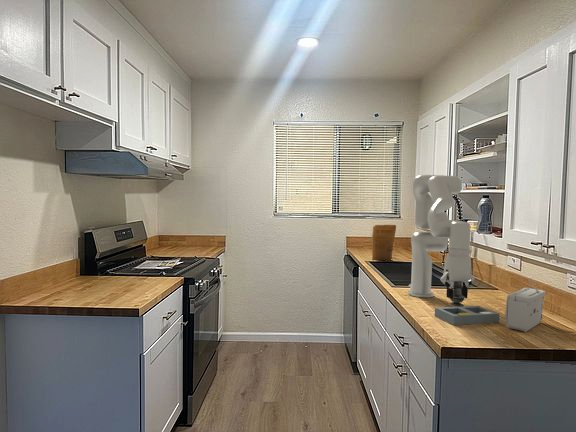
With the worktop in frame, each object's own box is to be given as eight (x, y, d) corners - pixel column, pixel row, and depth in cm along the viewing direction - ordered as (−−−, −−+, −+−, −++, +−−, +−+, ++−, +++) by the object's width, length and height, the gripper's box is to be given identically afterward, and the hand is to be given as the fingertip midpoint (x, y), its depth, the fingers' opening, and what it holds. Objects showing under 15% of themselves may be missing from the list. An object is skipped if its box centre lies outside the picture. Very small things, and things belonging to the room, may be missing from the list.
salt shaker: (460, 303, 165) (461, 273, 165) (467, 307, 159) (468, 276, 159) (446, 302, 165) (447, 273, 165) (452, 306, 159) (454, 276, 159)
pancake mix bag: (396, 261, 312) (397, 225, 310) (371, 261, 310) (373, 224, 309) (393, 260, 319) (394, 224, 317) (369, 259, 317) (370, 223, 315)
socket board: (434, 316, 167) (435, 306, 167) (477, 313, 173) (478, 304, 172) (453, 325, 156) (454, 315, 155) (499, 322, 161) (499, 312, 161)
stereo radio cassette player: (522, 318, 168) (525, 270, 167) (544, 323, 162) (548, 273, 161) (503, 328, 154) (506, 275, 153) (527, 334, 148) (531, 279, 147)
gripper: (470, 251, 167) (468, 294, 168) (434, 251, 163) (432, 296, 164) (484, 253, 160) (481, 299, 161) (446, 254, 156) (444, 300, 156)
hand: (456, 297), depth 162 cm, fingers closed on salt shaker, 5 cm apart
